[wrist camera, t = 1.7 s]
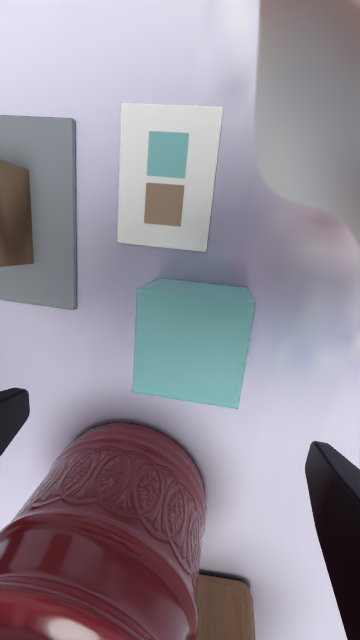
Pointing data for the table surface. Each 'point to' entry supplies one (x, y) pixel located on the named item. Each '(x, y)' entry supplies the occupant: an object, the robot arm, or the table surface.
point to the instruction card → (167, 174)
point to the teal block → (192, 340)
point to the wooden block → (224, 609)
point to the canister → (107, 543)
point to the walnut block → (15, 216)
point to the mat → (44, 209)
